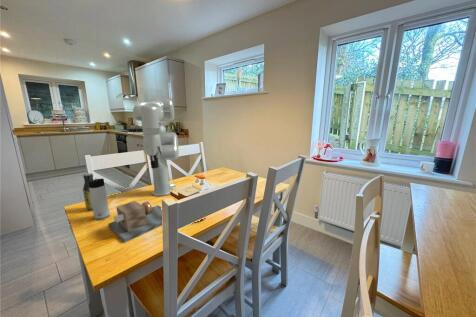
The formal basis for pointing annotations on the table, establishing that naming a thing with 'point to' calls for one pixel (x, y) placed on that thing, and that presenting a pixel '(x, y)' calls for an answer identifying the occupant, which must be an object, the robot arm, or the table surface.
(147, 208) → the shaft
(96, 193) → the travel mug
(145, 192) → the table surface
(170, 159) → the robot arm
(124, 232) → the housing
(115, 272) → the table surface
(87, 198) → the sauce bottle
